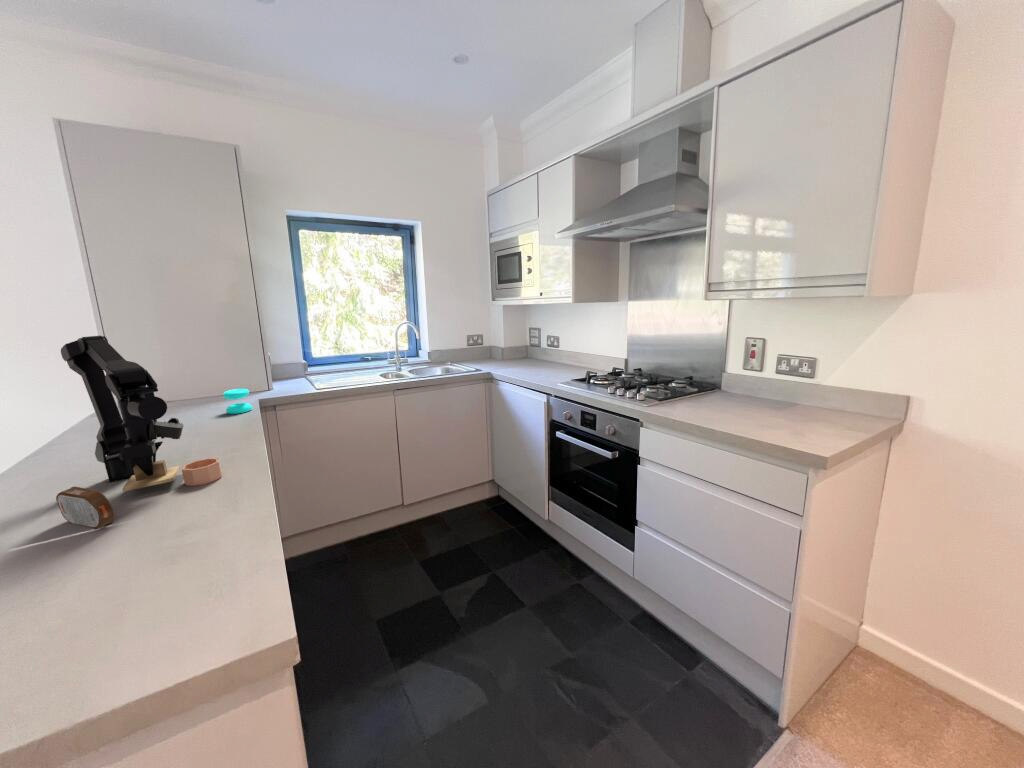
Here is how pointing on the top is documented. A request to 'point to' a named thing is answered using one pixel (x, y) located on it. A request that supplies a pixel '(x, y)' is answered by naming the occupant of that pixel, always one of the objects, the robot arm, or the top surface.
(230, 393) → the pair of cyan discs
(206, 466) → the bowl
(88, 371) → the robot arm
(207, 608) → the top surface
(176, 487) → the mat
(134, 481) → the lid
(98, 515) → the tin
